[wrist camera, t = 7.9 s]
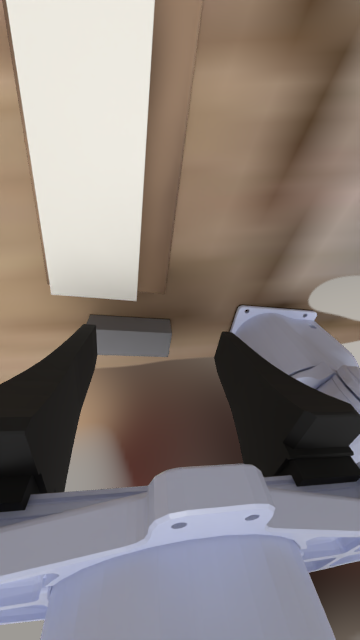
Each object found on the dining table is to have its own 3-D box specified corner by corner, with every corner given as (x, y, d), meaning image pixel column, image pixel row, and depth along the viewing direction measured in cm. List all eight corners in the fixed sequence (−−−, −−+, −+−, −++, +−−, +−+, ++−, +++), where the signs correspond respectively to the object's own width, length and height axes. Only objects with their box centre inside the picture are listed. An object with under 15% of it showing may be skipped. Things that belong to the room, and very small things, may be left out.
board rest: (169, 319, 24) (171, 333, 22) (166, 342, 26) (168, 356, 24) (90, 314, 23) (84, 328, 20) (91, 338, 24) (86, 354, 22)
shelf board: (137, 288, 16) (136, 301, 14) (61, 281, 15) (51, 294, 14) (157, -37, 9) (159, -86, 7) (16, -87, 8) (-18, -156, 6)
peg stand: (200, -3, 13) (228, -94, 8) (164, 288, 22) (168, 316, 18) (1, -70, 11) (-93, -231, 7) (52, 278, 20) (27, 306, 16)
